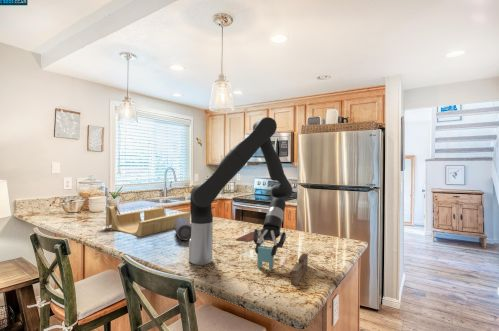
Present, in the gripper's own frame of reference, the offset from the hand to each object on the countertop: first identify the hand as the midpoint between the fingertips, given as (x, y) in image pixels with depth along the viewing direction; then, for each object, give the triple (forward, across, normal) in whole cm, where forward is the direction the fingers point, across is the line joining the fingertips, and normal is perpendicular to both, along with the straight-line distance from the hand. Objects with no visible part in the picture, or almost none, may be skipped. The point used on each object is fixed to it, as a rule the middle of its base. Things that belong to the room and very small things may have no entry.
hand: (264, 254), depth 107 cm
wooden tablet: (-27, -23, +37) cm, 51 cm away
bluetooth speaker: (-14, -59, +23) cm, 65 cm away
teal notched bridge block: (+3, 0, +5) cm, 6 cm away
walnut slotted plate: (+3, +14, +5) cm, 15 cm away
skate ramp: (-23, -96, +33) cm, 103 cm away
